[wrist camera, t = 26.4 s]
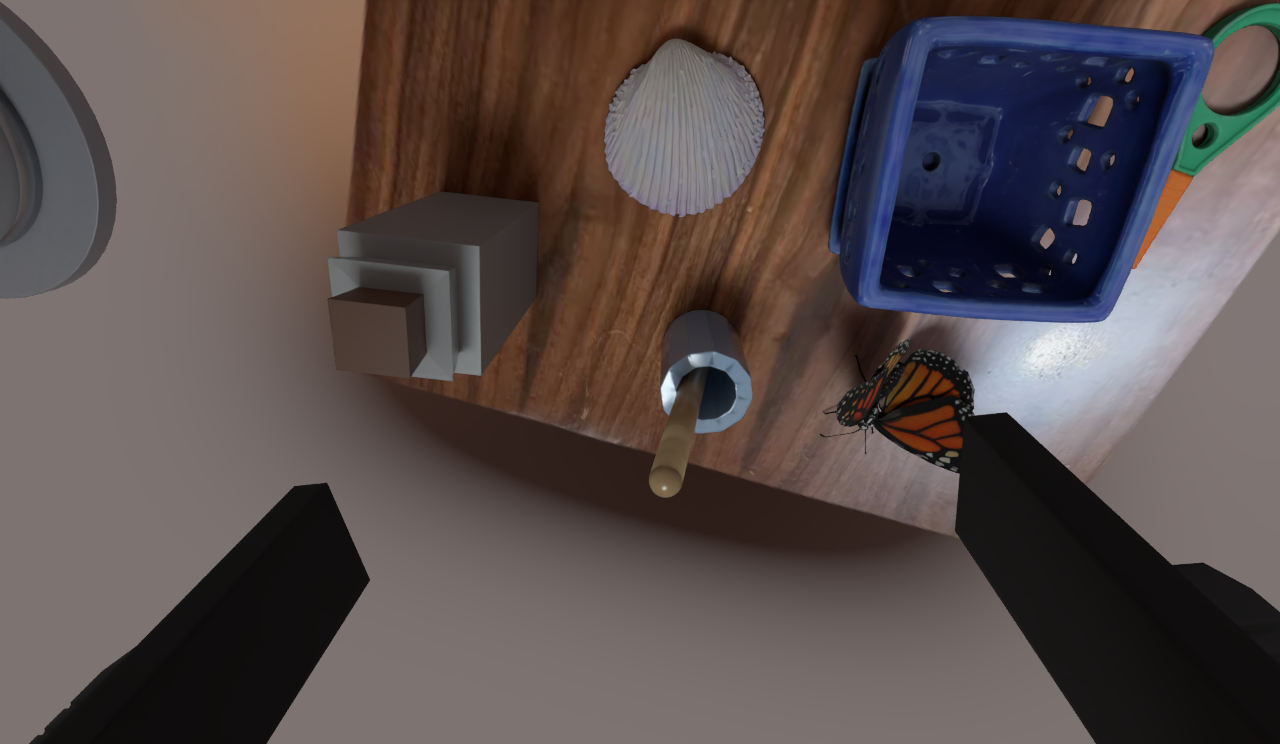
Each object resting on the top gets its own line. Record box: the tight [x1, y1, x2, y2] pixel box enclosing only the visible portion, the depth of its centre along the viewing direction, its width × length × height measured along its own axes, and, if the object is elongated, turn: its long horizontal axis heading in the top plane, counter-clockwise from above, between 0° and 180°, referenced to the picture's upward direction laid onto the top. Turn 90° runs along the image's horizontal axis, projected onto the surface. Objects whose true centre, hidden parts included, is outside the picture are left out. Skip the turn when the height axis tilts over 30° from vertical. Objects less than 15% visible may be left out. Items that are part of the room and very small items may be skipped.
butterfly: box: [820, 339, 975, 474], centre depth 40 cm, size 12×10×10 cm
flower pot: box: [828, 16, 1214, 323], centre depth 32 cm, size 13×13×12 cm
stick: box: [649, 366, 710, 497], centre depth 35 cm, size 2×2×18 cm
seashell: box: [604, 39, 765, 217], centre depth 36 cm, size 10×6×10 cm
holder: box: [660, 310, 753, 433], centre depth 40 cm, size 6×6×8 cm
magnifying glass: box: [1132, 3, 1280, 269], centre depth 36 cm, size 15×6×2 cm, turn 164°
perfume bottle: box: [328, 191, 539, 381], centre depth 33 cm, size 7×7×18 cm
